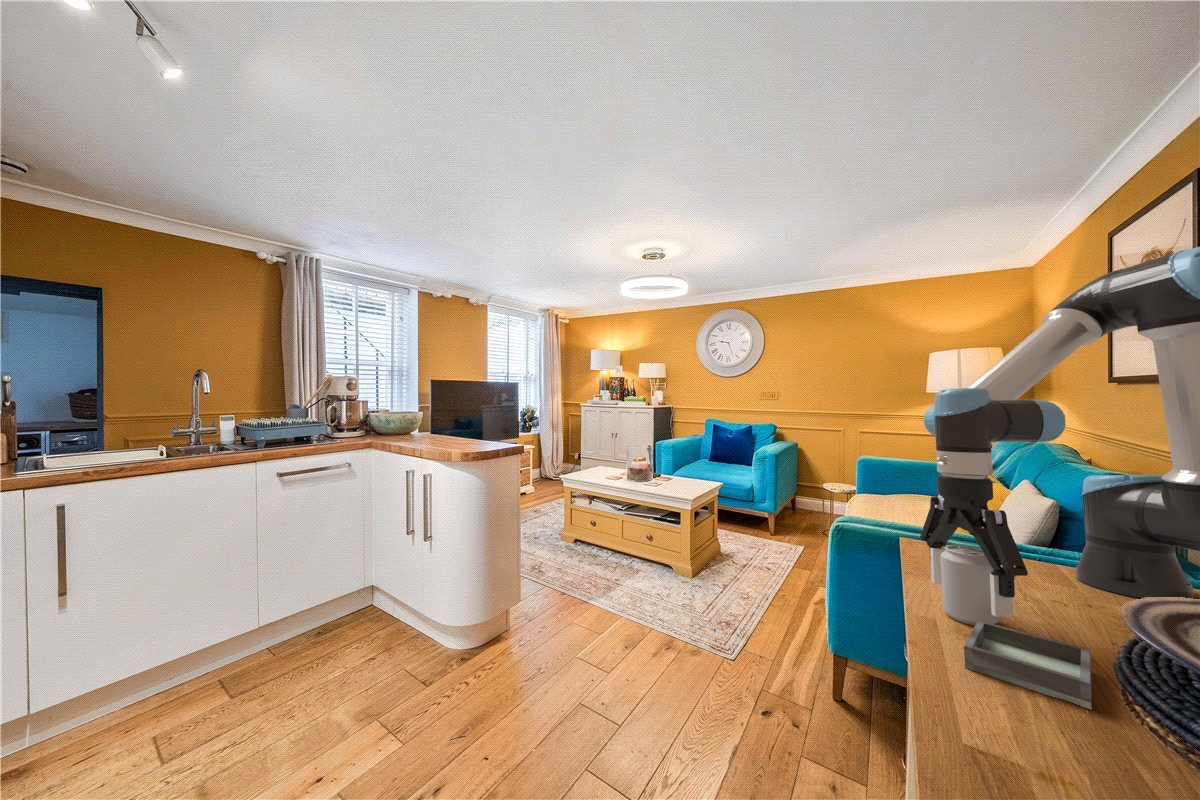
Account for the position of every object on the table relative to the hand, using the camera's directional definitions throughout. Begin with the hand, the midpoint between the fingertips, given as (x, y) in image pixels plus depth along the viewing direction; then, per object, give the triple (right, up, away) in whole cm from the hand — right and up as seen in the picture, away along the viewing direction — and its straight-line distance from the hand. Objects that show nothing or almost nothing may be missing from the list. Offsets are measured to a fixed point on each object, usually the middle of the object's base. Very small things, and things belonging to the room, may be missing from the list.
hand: (968, 598), depth 75 cm
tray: (-5, -3, -16) cm, 17 cm away
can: (0, -4, 0) cm, 4 cm away
